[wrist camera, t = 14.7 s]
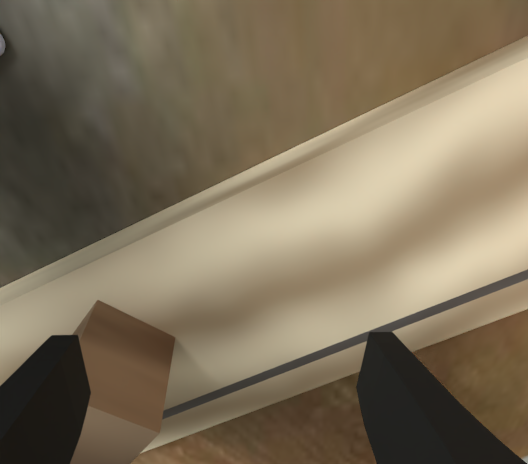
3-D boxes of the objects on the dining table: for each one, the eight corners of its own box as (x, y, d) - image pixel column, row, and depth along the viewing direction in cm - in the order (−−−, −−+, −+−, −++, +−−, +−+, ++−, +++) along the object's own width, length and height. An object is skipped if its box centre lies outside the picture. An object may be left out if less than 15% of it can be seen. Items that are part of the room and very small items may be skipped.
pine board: (-49, 311, 21) (-75, 340, 19) (567, 16, 16) (609, 19, 14) (100, 440, 26) (91, 471, 25) (587, 252, 21) (618, 275, 20)
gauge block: (97, 299, 18) (56, 393, 14) (175, 337, 20) (159, 433, 16) (25, 398, 21) (-28, 502, 17) (98, 425, 23) (66, 527, 18)
